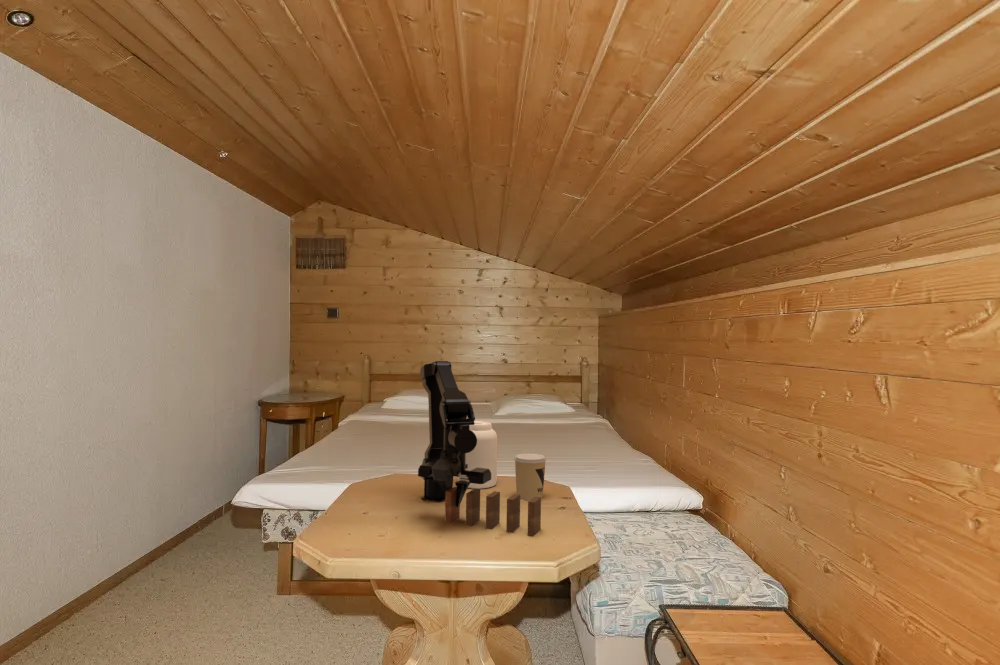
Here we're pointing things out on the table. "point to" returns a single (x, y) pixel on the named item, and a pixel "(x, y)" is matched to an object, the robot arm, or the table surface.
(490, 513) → the domino
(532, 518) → the domino
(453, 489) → the domino
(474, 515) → the domino
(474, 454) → the white lidded jar
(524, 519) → the table surface
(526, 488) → the coffee cup
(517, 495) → the domino
